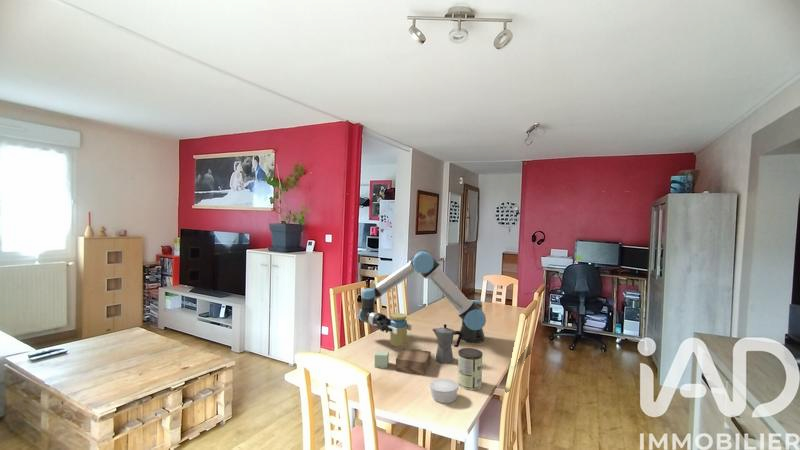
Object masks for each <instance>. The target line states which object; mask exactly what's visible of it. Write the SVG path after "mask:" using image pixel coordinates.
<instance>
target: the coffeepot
mask: <svg viewBox="0 0 800 450" xmlns="http://www.w3.org/2000/svg"><path fill="white" fill-rule="evenodd" d="M432 331H433V332H434V334H435V337H436V340H437V349H436V354H435V360H436V362H438V363H442V364H450V363H453V362H454V355H453V349H452V345H453V341H454V335H458V336H457V340H456V344H454V345H453V347H454V348H458V347H460V343H461V341H462V340H461V338H462V334H461V333H460V330H454V329H452V328H449V327H447V324H445V323H444V324H443V327H438V328H433V329H432Z"/></svg>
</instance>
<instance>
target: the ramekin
mask: <svg viewBox="0 0 800 450" xmlns="http://www.w3.org/2000/svg"><path fill="white" fill-rule="evenodd" d="M429 389H430V394H431V397H432V399H433V400H434V401H436V402H437V403H441V404H450V403H453V402H454V401H455V400H456V399H457V395H458V390H459V385H458V382H456V381H454V380H453V379H449V378H436V379H434V380H431V381H430V383H429Z"/></svg>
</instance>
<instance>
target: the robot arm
mask: <svg viewBox="0 0 800 450" xmlns="http://www.w3.org/2000/svg"><path fill="white" fill-rule="evenodd" d="M416 273H417V274H420V275H422V276H423V278H424V279H429V281H430V282H431V283H432V284H433V285H434V286H435V287H436V289H438V290H439V291H440V293H441V295H443V296H444V297H445V298H446V300H448V302H449V303H451V305H452V306H453V307H454V308H455V310H457V316H459V318H460V319H461V327H460V330H459V331H460V333H461V334H462V338H461V341H463V342H465V343H466V342H467V343H481V342H484V341H485V333H484V330H483V328H484V326H485V325H486V323H487V317H486V314H485V313H484V310H483V301H481V300H478V299H468V298H467V297H466V296H465V294H464V293H463V292H462V291H461V290H460V288H458V287H457V285H456V284H455V283H454V282H453V281H452V280H451V279H450V278H449V276H447V274H446V273H445V272H444V271H443V270H442V269H441V264H440V263H439V262H438V261H437V260H436V258H435V257H434V255H433V254H432V252H431V251H429V250H426V249H421V250H419V251H417V253H415V254H414V255H413V256H412V257H411V258H410V259H409V260H408V262H407V263H406V264H404V265H403V266H401V267H399V268H398V269H397V270H395V271H394V272H393V273H391V274H389V275H388V276H386V277H385V278H384V279H382V280H380V281H379V282H378V283H376V284H375V285H374V286H372V287H370V288H364V289H362V290H361V309H359V311H358V314H357V315H358V319H359V320H360V321H362V322H363V323H366V324H369V325H372V326H373V327H374V328H377V329H378V330H380V331H381V332H385V333H390V332H392V333H394V334H398V329H397V328H394V327H392V326H391V319H392V318H388V317H387V315H385V314H383V313H381V312H378V311H375V309H376V308H375V307H376V306H375V304H376V301H377V299H379V298H381V297H382V296H383V295H384V294H386V293H387V292H389V291H390V290H392V289H393V288H395V287H397V286H398V285H399V284H401V283H403V282H404V281H405V280H407V279H408V278H410V277H411V276H413V275H414V274H416ZM412 327H413V326H412V324H409V323H407V331H412V330H413V328H412Z"/></svg>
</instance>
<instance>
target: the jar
mask: <svg viewBox="0 0 800 450" xmlns="http://www.w3.org/2000/svg"><path fill="white" fill-rule="evenodd" d="M390 319H391V326H392V327H394V328H397V329H398V334H394V333H392V332H389V333H390V339H389V341H390V345H392V346H393V347H394V346H395V347H403V346H405V345H407V344H408V342H407V341H408V340H407V339H408V337H407V335H408V329H407V324H408V323H407V322H408V320H407V314H405V313H402V312H401V313H400V312H399V313H398V312H395V313H391V315H390Z"/></svg>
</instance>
